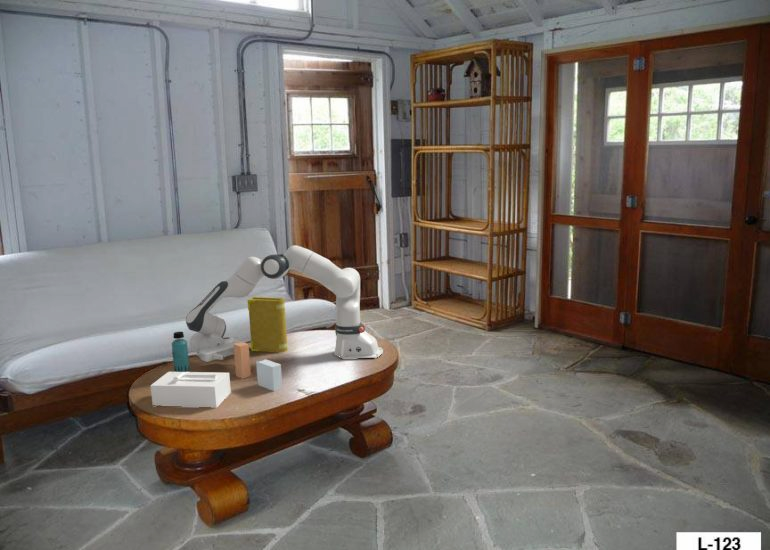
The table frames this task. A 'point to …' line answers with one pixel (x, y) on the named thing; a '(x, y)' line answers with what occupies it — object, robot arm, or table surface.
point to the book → (267, 324)
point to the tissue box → (191, 389)
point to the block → (242, 359)
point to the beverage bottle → (180, 353)
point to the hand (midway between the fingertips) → (232, 354)
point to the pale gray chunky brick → (269, 374)
